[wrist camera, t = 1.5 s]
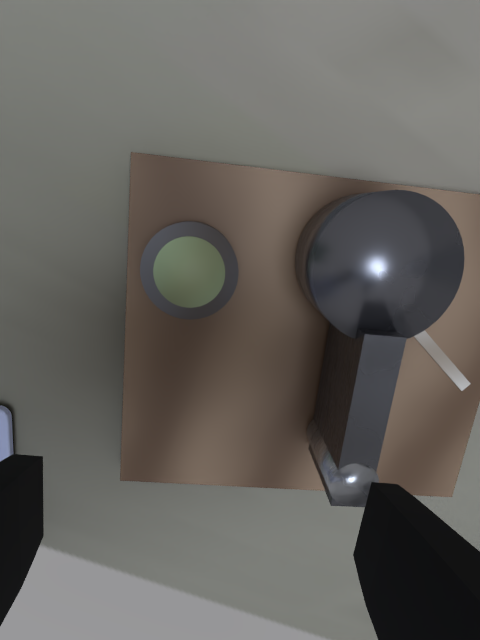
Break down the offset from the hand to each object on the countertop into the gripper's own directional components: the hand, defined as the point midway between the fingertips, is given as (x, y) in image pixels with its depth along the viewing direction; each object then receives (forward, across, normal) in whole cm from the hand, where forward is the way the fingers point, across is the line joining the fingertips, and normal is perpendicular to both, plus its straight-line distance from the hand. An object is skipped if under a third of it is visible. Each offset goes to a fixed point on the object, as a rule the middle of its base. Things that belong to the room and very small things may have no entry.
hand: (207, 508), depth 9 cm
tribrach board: (+10, -4, -1) cm, 10 cm away
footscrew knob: (+8, -5, -2) cm, 10 cm away
